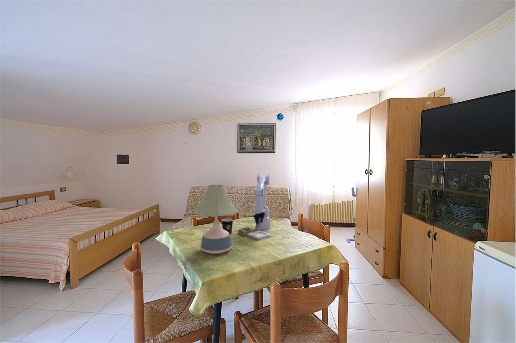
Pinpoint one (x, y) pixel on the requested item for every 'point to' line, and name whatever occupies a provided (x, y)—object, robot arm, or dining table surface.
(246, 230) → the hitch block
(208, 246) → the desk lamp
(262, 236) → the tray
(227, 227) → the coffee mug
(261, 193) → the robot arm
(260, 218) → the pin
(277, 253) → the dining table surface
